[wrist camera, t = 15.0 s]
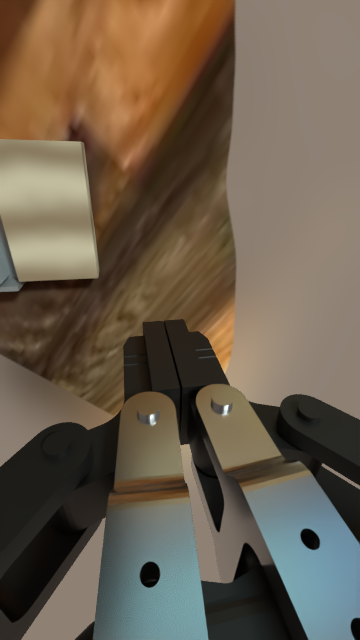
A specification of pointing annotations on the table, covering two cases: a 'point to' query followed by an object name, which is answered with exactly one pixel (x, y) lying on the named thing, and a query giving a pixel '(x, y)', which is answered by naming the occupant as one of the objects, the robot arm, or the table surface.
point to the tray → (8, 265)
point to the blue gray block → (3, 268)
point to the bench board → (47, 210)
